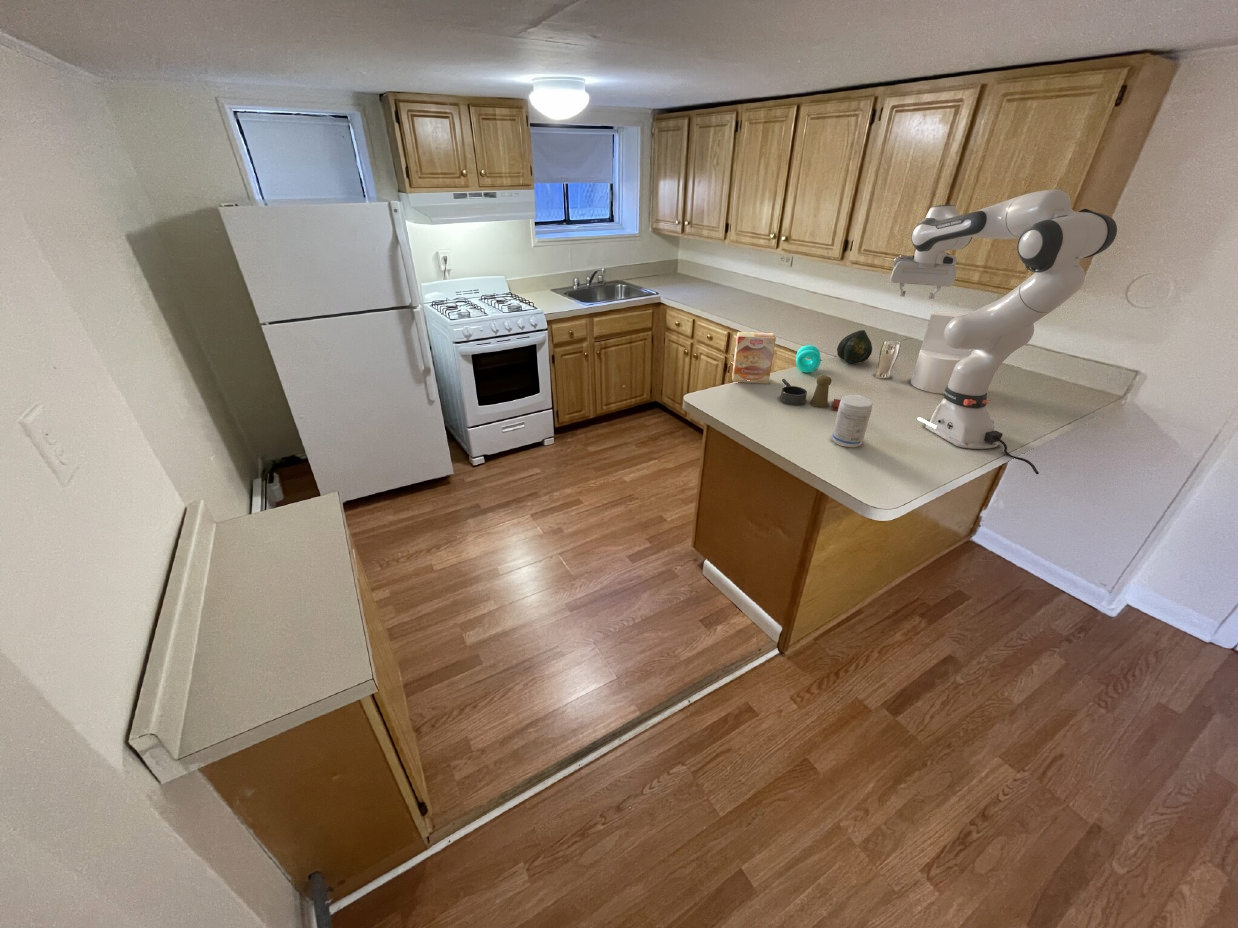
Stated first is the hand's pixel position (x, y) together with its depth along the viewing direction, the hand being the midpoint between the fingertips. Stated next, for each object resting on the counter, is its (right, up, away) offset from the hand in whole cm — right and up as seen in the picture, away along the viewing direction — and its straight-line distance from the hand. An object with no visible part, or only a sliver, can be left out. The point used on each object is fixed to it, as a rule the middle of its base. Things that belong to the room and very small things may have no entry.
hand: (916, 297), depth 184 cm
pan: (-41, -36, +12) cm, 56 cm away
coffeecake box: (-53, -25, +31) cm, 66 cm away
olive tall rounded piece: (-32, -38, +9) cm, 50 cm away
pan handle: (-41, -29, +18) cm, 54 cm away
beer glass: (+5, -23, +34) cm, 41 cm away
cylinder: (+22, -28, +25) cm, 44 cm away
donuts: (-25, -19, +41) cm, 52 cm away
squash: (0, -13, +51) cm, 52 cm away
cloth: (-24, -39, +6) cm, 47 cm away
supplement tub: (-33, -53, -17) cm, 65 cm away
